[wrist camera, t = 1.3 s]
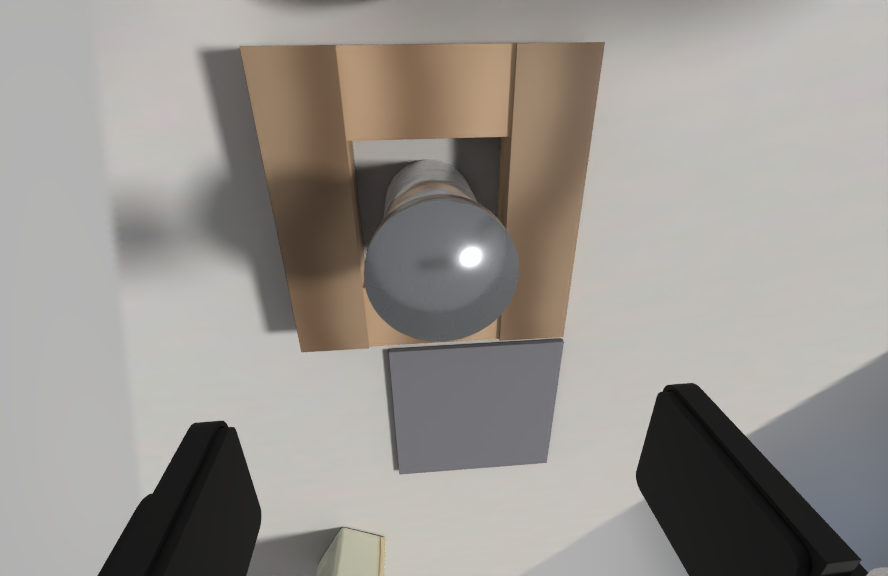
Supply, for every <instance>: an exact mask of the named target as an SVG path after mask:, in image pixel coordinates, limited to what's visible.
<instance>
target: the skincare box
mask: <svg viewBox="0 0 888 576" xmlns="http://www.w3.org/2000/svg"><path fill="white" fill-rule="evenodd" d="M385 541H386V539H385V537H380V536H377V535H373V534H369V533H365V532H361V531H357V530H353V529H349V528H344V527H343V528H341V529H340V531H339V532H338V534H337V535H336V537H335V538H334V540H333V541H332V543H331V545H330V546H329V548H328V549H327V551H326V553H325V554H324V556H323V557H322V559H321V561H320V563H319V564H318V567H317V572H316V576H384V566H385Z"/></svg>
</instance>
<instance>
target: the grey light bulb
mask: <svg viewBox="0 0 888 576" xmlns="http://www.w3.org/2000/svg"><path fill="white" fill-rule="evenodd" d="M518 277H519V261H518V255H517V251H516V248H515V245H514V243H513V241H512V239H511V237H510V236H509V234H508V232H507V230H506V229H505V227H504V226H503V224H502V223H501V221H500V220H499V219H498V218H497V217H496V216H495V215H494V214H493V213H492V212H491V211H490V210H489V209H487V208H486V207H484V206H483V205H481V204H480V203H478V202H477V200H476V198H475V196H474V194H473V192H472V191H471V189H470V187H469V185H468V183H467V181H466V179H465V178H464V176H463V175H462V174H461V173H460V172H459V171H458V170H457V169H456V168H454V167H453V166H451V165H449V164H447V163H445V162H441V161H437V160H421V161H417V162H414V163H411V164H409V165H407V166H406V167H404V168H403V169H401V170H400V171H399V172H398V173H397V174H396V175H395V177H394V178H393V179H392V181H391V183H390V185H389V187H388V190H387V193H386V200H385V209H384V217H383V221H382V222H381V223H380V224H379V225H378V227H377V228H376V230H375V232H374V233H373V235H372V238H371V240H370V242H369V246H368V249H367V254H366V259H365V266H364V283H365V289H366V292H367V295H368V298H369V301H370V302H371V304H372V306H373V308H374V309H375V311H376V312H377V314H378V315H379V316H380V317H381V318H382V319H383V320H384V321H385V322H386V323H387V324H388V325H389V326H391V327H392V328H394V329H395V330H397V331H398V332H400V333H402V334H404V335H407V336H409V337H412V338H415V339H419V340H424V341H432V342H445V341H453V340H458V339H462V338H465V337H468V336H471V335H473V334H475V333H477V332H479V331H481V330H483V329H484V328H486V327H488V326H489V325H490V324H491V323H493V322H494V321H495V320H496V319H497V318H498V317H499V316H500V315H501V314H502V313H503V312H504V310H505V309H506V308H507V306H508V305H509V303H510V301H511V300H512V297H513V295H514V293H515V290H516V287H517V284H518Z"/></svg>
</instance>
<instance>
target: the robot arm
mask: <svg viewBox="0 0 888 576" xmlns="http://www.w3.org/2000/svg"><path fill="white" fill-rule="evenodd" d="M636 480H637V484H638V487H639V489H640V491H641V493H642V494H643V496H644V498H645V500H646V501H647V503H648V505H649V507H650V508H651V510H652V512H653V514H654V515H655V517H656V519H657V520H658V522H659V524H660V526H661V528H662V529H663V531H664V533H665V534H666V536H667V538H668V540H669V541H670V543H671V545H672V547H673V548H674V550H675V552H676V554H677V555H678V557H679V559H680V561H681V562H682V564H683V566H684V568H685V569H686V571H687V573H688V574H689V576H888V568H885V567H882V568H877V569H873V570H871V571H870V572H869V573H868V572H867V571H866V570H865V569H864V568H863V567H862V566H861V564H860V563H859V562H860V561H861V559H860V558H859V557H858V556H857V555H856V554H855V552H854V551H853V550H852V549H851V548H850V547H849V546H848V545H847V544H846V543H845V542H844V541H843V540H842V539H841V538H840V536H839V535H838V534H836V532H835V531H834V530H833V529H832V528H831V527H830V526H829V525H828V524H827V523H826V522H825V520H823V518H822V517H821V516H820V515H819V514H818V513H817V512H816V511H815V510H814V509H813V508H812V507H811V506H810V505H809V503H808V502H807V501H805V499H804V498H803V497H802V496H801V495H800V494H799V493H798V492H797V491H796V490H795V488H794V487H793V486H792V485H791V484H790V483H789V482H788V481H787V480H786V479H785V478H784V477H783V476H782V475H781V474H780V472H779V471H778V470H777V469H776V468H775V467H774V466H773V465H772V464H771V463H770V462H769V461H768V460H767V459H766V458H765V456H763V454H762V453H761V452H760V451H759V450H758V449H757V448H756V447H755V446H754V445H753V444H752V443H751V442H750V440H749V439H748V438H747V437H746V436H745V435H744V434H743V433H742V432H741V431H740V430H739V429H738V428H737V427H736V425H735V424H734V423H733V422H732V421H731V420H730V419H729V418H728V417H727V416H726V415H725V414H724V413H723V412H722V411H721V409H720V408H719V407H718V406H717V405H716V404H715V403H714V402H713V401H712V400H711V399H710V398H709V397H708V396H707V395H706V393H705V392H704V391H703V390H702V389H701V388H700V387H699V386H697V385H696V384H694V383H687V384H674V385H667V386H666V387H665V388H664V390H663V392H660V393H659V394H658V395H657V398H656V402H655V405H654V409H653V413H652V416H651V420H650V424H649V427H648V431H647V435H646V438H645V442H644V446H643V449H642V453H641V456H640V460H639V464H638V467H637V471H636ZM260 525H261V508H260V505H259V502H258V498H257V495H256V492H255V489H254V486H253V483H252V479H251V476H250V473H249V470H248V467H247V463H246V460H245V457H244V454H243V451H242V448H241V444H240V441H239V438H238V435H237V432H236V429H235V428H234V427H228V426H227V424H226V422H224V421H213V422H201V423H194V424H192V425H191V427H190V428H189V429H188V431H187V433H186V435H185V436H184V438H183V440H182V442H181V444H180V445H179V447H178V449H177V451H176V453H175V454H174V456H173V458H172V460H171V462H170V463H169V465H168V467H167V469H166V471H165V472H164V474H163V476H162V478H161V480H160V481H159V483H158V485H157V487H156V489H155V490H154V492H153V494H149V495H147V496H146V497H145V498H144V499H143V500H142V501H141V502H140V504H139V505H138V507H137V508H136V510H135V512H134V513H133V515H132V517H131V519H130V520H129V522H128V524H127V526H126V527H125V529H124V531H123V533H122V534H121V536H120V538H119V539H118V541H117V543H116V545H115V546H114V548H113V550H112V552H111V553H110V555H109V557H108V559H107V560H106V562H105V564H104V566H103V567H102V569H101V571H100V572H99V574H98V576H246V574H247V571H248V567H249V564H250V560H251V557H252V553H253V550H254V546H255V543H256V539H257V536H258V532H259V529H260Z"/></svg>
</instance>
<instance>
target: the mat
mask: <svg viewBox="0 0 888 576" xmlns="http://www.w3.org/2000/svg"><path fill="white" fill-rule="evenodd" d="M563 343H564V342H563V340H562V339H548V340H531V341H514V342H497V343H480V344H463V345H446V346H429V347H413V348H396V349H389V359H390V371H391V383H392V394H393V406H394V417H395V429H396V440H397V452H398V463H399V474H411V473H423V472H436V471H448V470H461V469H474V468H486V467H499V466H512V465H524V464H537V463H547V456H548V449H549V442H550V435H551V428H552V421H553V413H554V406H555V399H556V392H557V385H558V378H559V371H560V364H561V357H562V350H563Z"/></svg>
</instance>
